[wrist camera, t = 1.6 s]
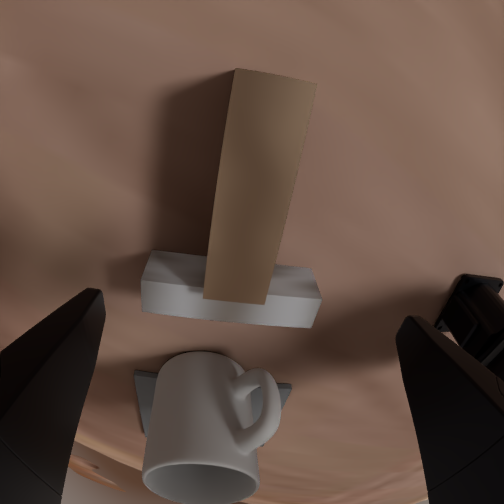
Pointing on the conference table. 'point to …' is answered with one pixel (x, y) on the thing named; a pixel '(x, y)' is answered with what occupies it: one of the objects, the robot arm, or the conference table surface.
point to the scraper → (246, 218)
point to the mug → (207, 429)
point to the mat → (146, 392)
